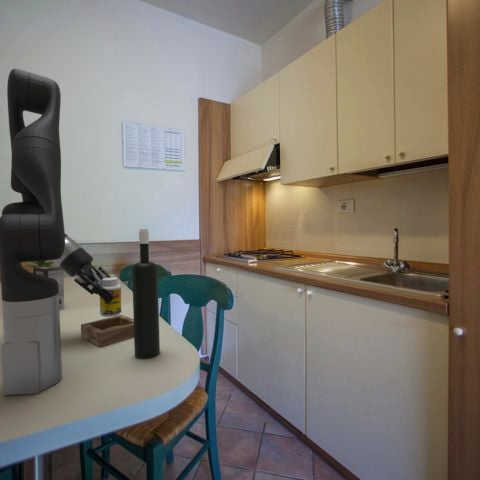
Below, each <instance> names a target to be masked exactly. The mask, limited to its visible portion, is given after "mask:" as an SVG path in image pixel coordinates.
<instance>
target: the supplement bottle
mask: <svg viewBox="0 0 480 480" xmlns="http://www.w3.org/2000/svg"><path fill="white" fill-rule="evenodd" d="M118 279H119V278H118V277H111V278H104V279H103V285H102V286H103V287H104V288H105V289H106V290H107V291H108V292H109V293H110V294H112V295H113V296H114V299H113V300H112V301H111V302H110V303H107V302H106V301H105V300H103V299H102V298H101V297H100V296H99V314H100V316H102V317H105V318H110V317H115V316H119V315H121V313H122V286H121V285H120V284H119V280H118ZM104 288H103V289H104Z"/></svg>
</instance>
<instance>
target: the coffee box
mask: <svg viewBox="0 0 480 480" xmlns="http://www.w3.org/2000/svg"><path fill="white" fill-rule="evenodd" d="M32 270H33V271H32V273H34V274H36V275H40V276H44V277H49V278H53V279H55V280H57V282H58V286H59V311H61V310H65V283H64V278H65V277H64V270H63V269H62V268H61V267H60V266H52V265H51V266H48V267H40V266H37V267H36V268H34V267H32Z"/></svg>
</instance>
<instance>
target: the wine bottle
mask: <svg viewBox="0 0 480 480" xmlns="http://www.w3.org/2000/svg"><path fill="white" fill-rule="evenodd" d="M148 230H149V229H148V228H139V231H138V238H139V239H138V241H139V262H137V263H135V264H134V265H132V268H131V274H132V275H131V279H132V308H133V319H134V337H133V339H134V341H133V342H134V346H133V347H134V357H135V358H137V359H140V360H141V359H142V360H144V359H145V360H147V359H152V358H154V357H157V356H158V355H160V352H161V351H160V348H161V347H160V316H159V315H160V313H159V311H160V310H159V281H158V279H159V278H158V276H159V275H158V274H159V273H158V265H157V264H155V263H154V262H153V261H150V255H149V254H150V253H149V252H150V249H149V248H150V247H149V245H150V240H149V239H150V235H149V234H150V233H149V231H148Z"/></svg>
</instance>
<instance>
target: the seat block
mask: <svg viewBox="0 0 480 480" xmlns="http://www.w3.org/2000/svg"><path fill="white" fill-rule="evenodd" d="M80 334H81V335H80V336H81V338H83V339H85V340H87V341H88V342H90V343H92V344H94V345H96V346H98V347H100V348H102V347H107V346H109V345H112V344H115V343H119V342H122V341H125V340H129V339H134V318H131V317H129V316H127V315H126V316H125V315H122V314H119V315H116V316H111V317H105V318H102V319H98V320H95V321H91V322H85V323H81V324H80Z"/></svg>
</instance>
